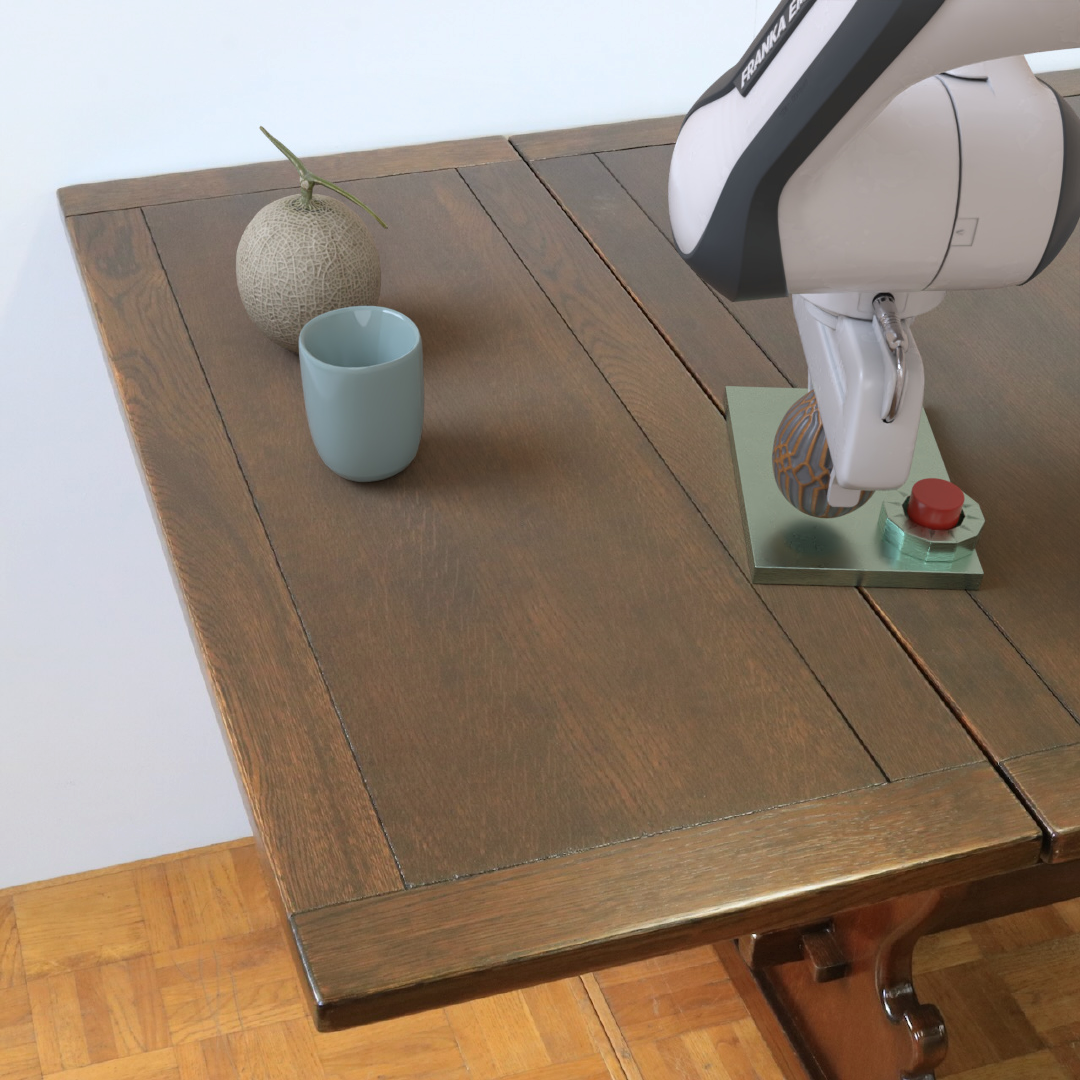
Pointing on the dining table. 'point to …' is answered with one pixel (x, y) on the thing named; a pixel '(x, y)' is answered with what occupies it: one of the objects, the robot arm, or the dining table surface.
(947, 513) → the button
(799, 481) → the vase
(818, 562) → the green metallic slab
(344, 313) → the cup
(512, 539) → the dining table surface
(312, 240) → the fruit
